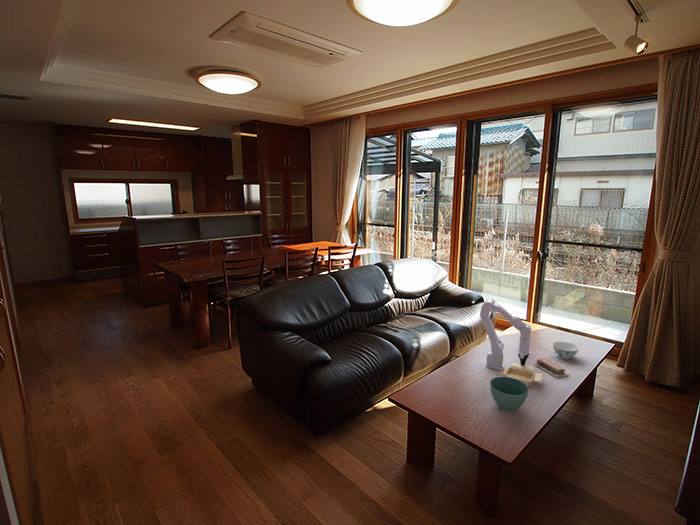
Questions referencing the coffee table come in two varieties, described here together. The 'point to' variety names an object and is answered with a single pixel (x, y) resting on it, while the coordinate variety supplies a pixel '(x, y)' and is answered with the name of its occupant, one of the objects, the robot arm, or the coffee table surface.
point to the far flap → (538, 377)
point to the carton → (520, 375)
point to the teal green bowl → (508, 392)
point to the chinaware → (565, 349)
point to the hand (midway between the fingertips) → (522, 364)
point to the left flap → (522, 367)
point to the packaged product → (551, 368)
